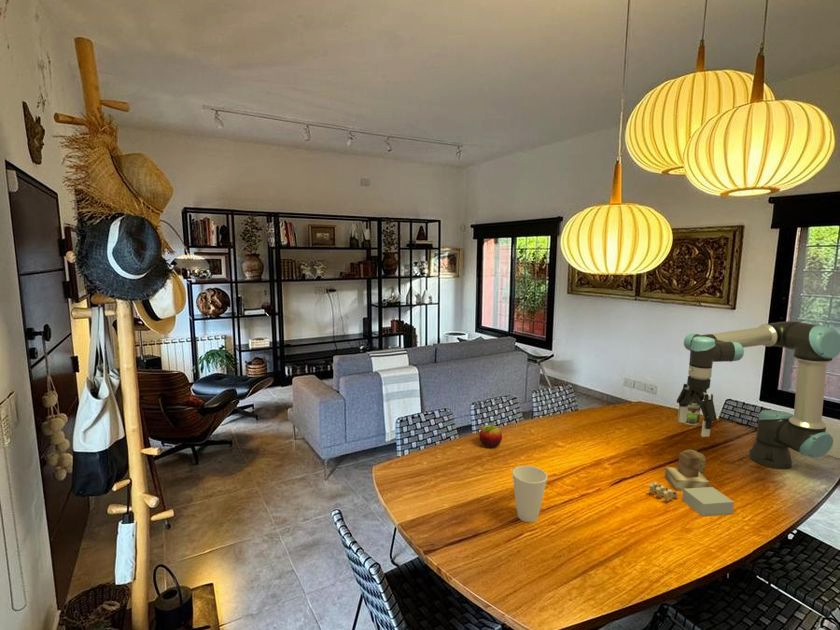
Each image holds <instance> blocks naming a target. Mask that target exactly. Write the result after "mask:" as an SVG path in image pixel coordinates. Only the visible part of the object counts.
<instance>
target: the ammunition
mask: <svg viewBox="0 0 840 630" xmlns="http://www.w3.org/2000/svg"><path fill="white" fill-rule="evenodd" d="M648 488H649V491H650V493H651V494H652V495H655V493H656V495H657V496H658V498H659V499H662V497H664V500H665V502H666V503H669V502H670V499H678V491H673V490H672V488H668V487H667V488H666V486H665V485H663V484H659V483H658V482H657V481H653V483H650V482H649V484H648Z"/></svg>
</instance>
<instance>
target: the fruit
mask: <svg viewBox="0 0 840 630" xmlns="http://www.w3.org/2000/svg"><path fill="white" fill-rule="evenodd" d="M478 435H479V441H480V443H481V444H482V445H483V447H486V448H490V449H491V448H493V449H494V448H496V447H498V446H499V445H500V444H501V442H502V439H503V434H502V431H501V429H500V428H499V427H497V425H493V424H486V425H483V426H481V428H480V431H479V434H478Z"/></svg>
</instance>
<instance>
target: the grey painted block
mask: <svg viewBox="0 0 840 630" xmlns="http://www.w3.org/2000/svg"><path fill="white" fill-rule="evenodd" d="M681 500H682V502H684V503H685V504H686V505H687V506H689V507H690V508H691V509H692V510H694V511H695V512H697V514H699V515H700V516H701V517H709V516H710V517H712V516H723V515H724V516H725V515H733V513H734V505H735V501H733V500H732V499H730V498H729V497H728V496H726V495H725V494H723V493H721V492H720V491H719V490H718V489H716V488H715V487H713V486H709V487H703V488H688V489H683V491H682V498H681Z"/></svg>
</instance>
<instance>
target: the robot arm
mask: <svg viewBox="0 0 840 630" xmlns="http://www.w3.org/2000/svg"><path fill="white" fill-rule="evenodd" d="M683 346H684V349H686V350H688V351H690V352H689V363H688V373H687V375H688V376H687V381H686V383H683V387H682V390H681V391H680V393H679V395H678V397H677V399H676V403H677V404H678V406H679V405H680V415H679V421H678V422H679V423H681V422H686V421H687V412H688V407H687V406H688V404H689V403H690V402H691V401H692V400H693V399H694V400H695V401H697V403H698V404H699V405H700V407H701V409H700V411H701V412H702V415H703V418H704V419H702V426H701V431H700V432H701V433H700V437H702V438H705V437H708V438H709V437H710V435H711V429H712V423H713V422H717V421H718V419H717V414H716V413H717V412H716V408H715V404H714V394H713V393H708V392H707V390H708V389H710V387H711V380H712V379H711V378H712V374H713V373H712V372H713V371H712V370H713V364H714V363H716V362H720V363H722V362H729V363H731V362H736V361H740V360H741V359H743V358H744V353H745V350H744V348H750V347H758V346H763V347H779V348H784V349H789V350H793V358H794V359H795V360H796V361H797V371H796V372H797V373H796V385H795V386H796V387H795V396H794V397H795V398H794V409H793V414H792V413H791V412H787V411H781V410H773V409H766V410H761V411H760V412H759V416H758V418H757V427H756V437H755V440H754V441H755V442H754V443H753V445H752V447H751V448H750V449H749V453H748V458H749V459H750V460H751V461H753V462H755V463H757V464H760V465H761V466H765V467H768V468H773V469H779V470H788V469H791V468H792V464H793V460H792V458H791V452H790V450H791V449H792V450H793V451H795V452H797V453H800V454H801V455H804V456H807V457H809V458H812V459H818V458H821V457H823V456H825V455H826V454H827V453H829V451H830V450H831V449H832V448H833V444H834V437H833V436H832V435H831V433H828V432H826V431H827V425H826V423H825V422H824V421H823V420H822V418H823V408H824V407H823V406H824V398H825V397H824V396H825V387H826V376H827V366H828V364H829V363H831V362H833V358H835V357H837V356H839V354H840V333H839V331H837V330H836V329H834V328H832V327H827V326H825V325H819V324H813V323H807V322H806V323H805V322H800V321H795V320H793V321H792V320H791V321H787V320H786V321H777V322H770V323H764V324H760V325H759V326H757V327H751V328H744V329H739V330H738V329H736V330H731V331H723V332H717V333H708V334H698V333H689V334H687V335H686V336H685V337H684V340H683ZM713 362H714V363H713ZM681 399H682V400H681Z"/></svg>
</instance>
